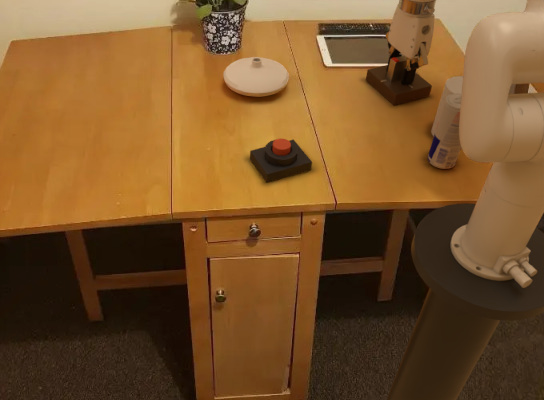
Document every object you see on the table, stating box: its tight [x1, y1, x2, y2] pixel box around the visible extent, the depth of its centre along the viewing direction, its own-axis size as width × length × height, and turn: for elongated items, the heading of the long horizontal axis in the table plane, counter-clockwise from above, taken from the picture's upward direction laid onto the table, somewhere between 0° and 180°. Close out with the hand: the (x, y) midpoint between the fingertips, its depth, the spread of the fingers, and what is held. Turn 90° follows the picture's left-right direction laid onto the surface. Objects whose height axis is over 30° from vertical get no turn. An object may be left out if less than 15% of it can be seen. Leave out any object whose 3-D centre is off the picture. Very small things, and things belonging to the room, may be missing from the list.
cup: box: [430, 75, 463, 138], centre depth 123 cm, size 8×8×12 cm
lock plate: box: [365, 64, 433, 106], centre depth 139 cm, size 12×10×3 cm
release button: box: [272, 138, 291, 156], centre depth 116 cm, size 4×4×2 cm
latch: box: [386, 55, 415, 82], centre depth 136 cm, size 6×2×5 cm, turn 112°
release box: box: [249, 138, 313, 183], centre depth 118 cm, size 10×8×4 cm
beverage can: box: [427, 93, 462, 170], centre depth 115 cm, size 6×6×15 cm
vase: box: [223, 56, 290, 97], centre depth 138 cm, size 16×16×7 cm
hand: (399, 76), depth 138 cm, fingers open, 5 cm apart
